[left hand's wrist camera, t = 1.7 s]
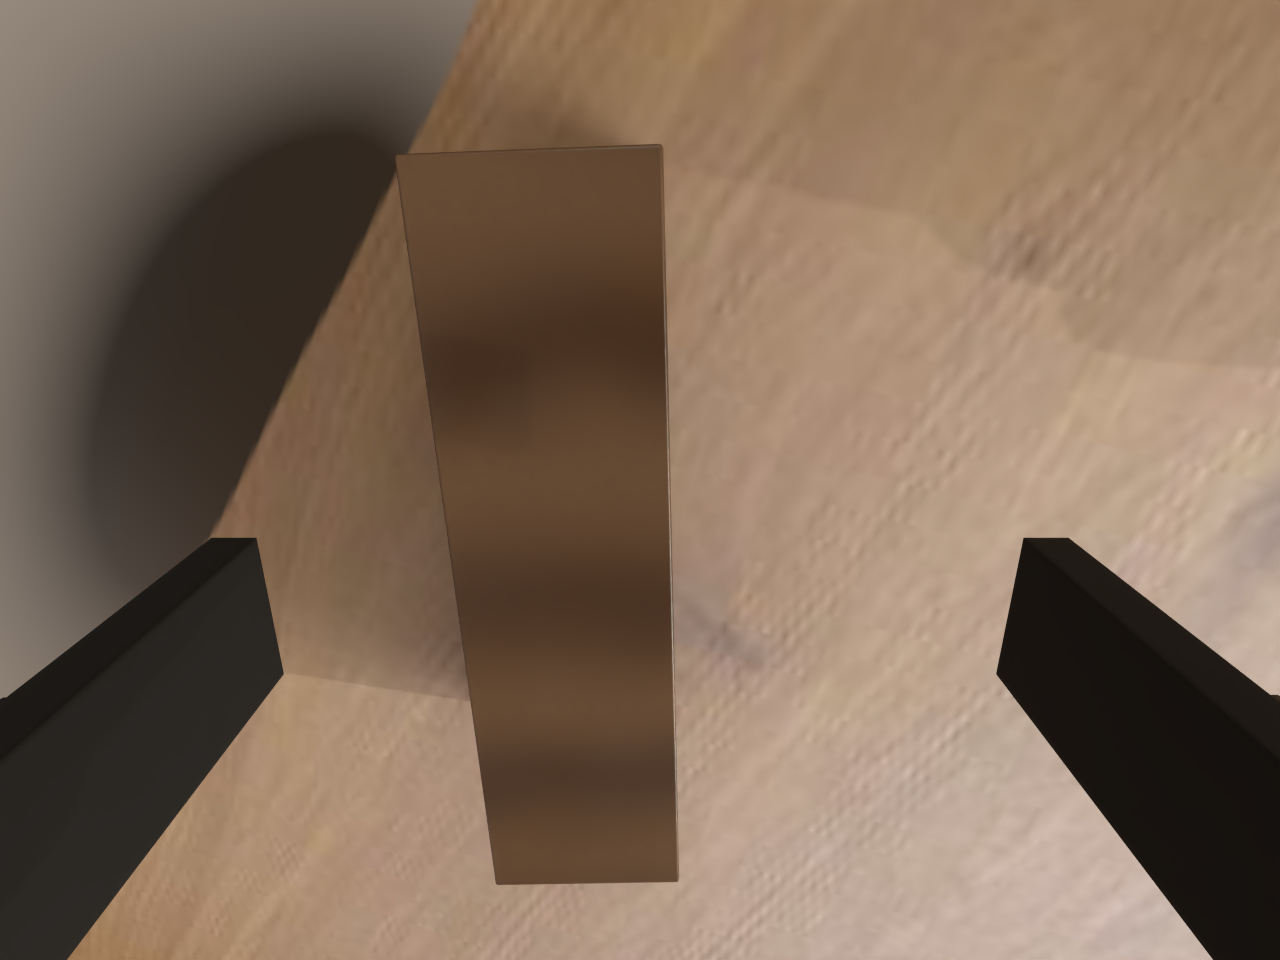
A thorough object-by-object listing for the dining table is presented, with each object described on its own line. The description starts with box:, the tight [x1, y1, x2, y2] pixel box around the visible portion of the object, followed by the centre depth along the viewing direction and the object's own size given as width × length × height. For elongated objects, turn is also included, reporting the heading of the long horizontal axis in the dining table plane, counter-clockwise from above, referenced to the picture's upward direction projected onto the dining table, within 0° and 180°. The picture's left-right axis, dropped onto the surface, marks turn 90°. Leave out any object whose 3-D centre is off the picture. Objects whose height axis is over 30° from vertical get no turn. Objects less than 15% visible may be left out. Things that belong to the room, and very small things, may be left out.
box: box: [395, 144, 679, 885], centre depth 25 cm, size 23×6×9 cm, turn 2°
